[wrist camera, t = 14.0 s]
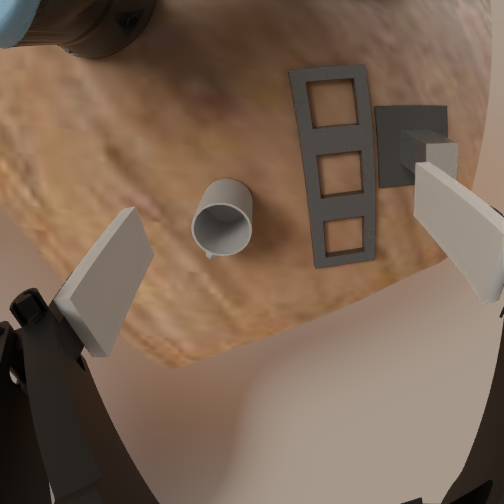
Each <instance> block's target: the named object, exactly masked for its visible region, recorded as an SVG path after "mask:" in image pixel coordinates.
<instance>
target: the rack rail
mask: <svg viewBox="0 0 504 504" xmlns="http://www.w3.org/2000/svg"><path fill="white" fill-rule="evenodd" d="M288 73H289V79H290V85H291V90H292V96H293V102H294V108H295V114H296V120H297V127H298V133H299V140H300V147H301V154H302V161H303V169H304V176H305V184H306V192H307V201H308V209H309V218H310V228H311V237H312V248H313V258H314V266H315V269H317V268H323V267H330V266H336V265H342V264H349V263H355V262H361V261H368V260H374V259H375V226H376V196H375V162H374V144H373V130H372V118H371V107H370V98H369V89H368V81H367V74H366V67H365V65H341V66H326V67H314V68H303V69H294V70H288ZM347 78H352V86H353V93H354V101H355V110H356V120H357V123H354V124H342V125H332V126H323V127H314V128H312V121H311V114H310V107H309V101H308V94H307V88H306V82H309V81H319V80H331V79H347ZM349 151H359V154H360V170H361V190H359V191H351V192H343V193H335V194H328V195H320V185H319V176H318V167H317V159H316V155H323V154H331V153H340V152H349ZM358 216H362V248H357V249H351V250H344V251H338V252H331V253H325V242H324V229H323V221H330V220H337V219H344V218H351V217H358Z"/></svg>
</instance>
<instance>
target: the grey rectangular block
mask: <svg viewBox="0 0 504 504" xmlns="http://www.w3.org/2000/svg"><path fill="white" fill-rule="evenodd" d="M399 131H400V162H401V164H402V165H403V166H405V167H406V168H407V169H409V170H410V171H411V172H413V173H414V174H415V163H420V162H430V163H431V164H433V165H434V166H436V167H437V168H439V169H440V170H442V171H443V172H445V173H446V174H448V175H449V176H451V177H452V178H453V179H455V180H457V165H458V143H457V142H455V141H453V140H451V139H449V138H447V137H445V136H443V135H441V134H438V133H436V132H434V131H432V130H430V129H416V130H399Z"/></svg>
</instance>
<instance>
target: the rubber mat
mask: <svg viewBox="0 0 504 504" xmlns="http://www.w3.org/2000/svg"><path fill="white" fill-rule="evenodd" d="M374 108H375V119H376V132H377V148H378V171H379V187H380V188H383V187H392V186H401V185H410V184H415V174H414V173H413V172H411V171H410V170H409V169H407V168H406V167H405V166H403V165H402V164H401V162H400V131H399V130H416V129H430V130H432V131H434V132H436V133H438V134H441V135H443V136H445V137H447V138H448V123H447V106H377V107H374Z"/></svg>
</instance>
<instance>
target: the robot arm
mask: <svg viewBox="0 0 504 504" xmlns="http://www.w3.org/2000/svg"><path fill="white" fill-rule="evenodd" d="M154 5H155V0H0V48H3V49H7V48H11V47H19V46H34V45H58V46H60V47H61V48H62V49H64V50H65V51H66V52H68V53H69V54H71V55H74V56H77V57H82V58H99V57H105V56H108V55H111V54H114V53H116V52H118V51H120V50H122V49H123V48H125V47H126V46H128V45H129V44H130V43H131V42H133V41H134V40H135V39H136V38H137V37H138V36H139V34H140V33H141V32H142V31H143V29H144V28H145V26H146V25H147V23H148V21H149V19H150V17H151V15H152V12H153V9H154ZM414 217H415V218H416V219H417V220H418V222H419V223H420V224H421V225H422V226H423V227H424V228H425V229H426V231H427V232H428V233H429V234H430V235H431V237H432V238H433V239H434V240H435V241H436V242H437V244H438V245H439V246H440V247H441V249H442V250H443V251H444V252H445V253H446V255H447V256H448V257H449V258H450V260H451V261H452V262H453V264H454V265H455V266H456V267H457V269H458V270H459V271H460V273H461V274H462V275H463V276H464V278H465V279H466V280H467V282H468V283H469V285H470V286H471V287H472V289H473V290H474V292H475V293H476V294H477V296H478V297H479V299H480V300H481V302H482V303H483V304H488V303H491V302H494V301H497V300H499V298H500V295H501V292H502V290H503V287H504V216H503V215H502V214H501V213H500V212H499V211H498V210H496V209H495V208H493V207H491V206H489V205H488V204H487V203H485V202H484V201H483V200H482V199H480V198H479V197H478V196H476V195H475V194H474V193H473V192H471V191H470V190H469V189H467V188H466V187H464V186H463V185H462V184H460V183H459V182H458V181H456V180H455V179H453V178H452V177H451V176H449V175H448V174H446V173H445V172H443V171H442V170H440V169H439V168H437V167H436V166H434V165H433V164H431V163H430V162H420V163H415V199H414ZM153 256H154V253H153V250H152V248H151V245H150V243H149V240H148V238H147V235H146V232H145V230H144V227H143V224H142V222H141V219H140V216H139V213H138V211H137V208H136V206H134V207H130V208H126V209H122V210H121V211H120V213H119V214H118V215H117V216H116V217H115V219H114V220H113V221H112V222H111V223H110V225H109V226H108V227H107V228H106V230H105V231H104V232H103V233H102V235H101V236H100V237H99V238H98V240H97V241H96V242H95V243H94V245H93V246H92V247H91V249H90V250H89V251H88V252H87V254H86V255H85V256H84V258H83V259H82V260H81V262H80V263H79V264H78V266H77V267H76V269H75V270H74V271H73V272H72V273H71V274H70V276H69V277H68V278H67V280H66V282H65V283H64V284H63V286H62V288H61V289H60V290H59V291H58V293H57V294H56V296H55V297H54V299H53V300H52V301H51V303H50V305H49V306H47V304H46V303H45V301H44V300H43V298H42V296H41V295H40V293H39V292H38V290H37V289H36V288H31V289H28V290H26V291H24V292H22V293H21V294H20V295H19V296H17V297H16V298H15V299H14V301H13V302H12V303H11V305H10V311H11V312H12V314H13V315H14V317H15V318H16V320H17V321H18V322H19V324H20V325H21V327H22V328H20V329H17V330H14V329H13V328H12V327H11V325H10V324H9V322H8V321H3V322H1V323H0V504H52V502H51V495H50V487H49V482H50V485H51V488H52V491H53V494H54V498H55V503H54V504H159V502H158V501H157V499H156V498H155V496H154V495H153V494H152V492H151V490H150V489H149V487H148V486H147V484H146V482H145V481H144V479H143V478H142V476H141V474H140V473H139V471H138V469H137V468H136V466H135V464H134V462H133V461H132V459H131V457H130V455H129V454H128V452H127V450H126V448H125V446H124V444H123V442H122V441H121V439H120V437H119V435H118V433H117V431H116V429H115V427H114V425H113V423H112V421H111V419H110V417H109V415H108V412H107V410H106V408H105V406H104V404H103V401H102V399H101V397H100V395H99V392H98V390H97V388H96V385H95V383H94V380H93V378H92V375H91V373H90V370H89V368H88V365H87V363H86V360H85V359H84V357H83V356H82V355H81V352H82V350H83V348H84V346H85V348H86V349H87V350H88V352H89V353H90V354H91V356H92V357H109V355H110V352H111V350H112V347H113V345H114V343H115V340H116V338H117V335H118V333H119V331H120V328H121V326H122V324H123V321H124V319H125V317H126V314H127V312H128V310H129V308H130V305H131V303H132V301H133V299H134V297H135V294H136V292H137V290H138V288H139V286H140V283H141V281H142V279H143V277H144V275H145V273H146V271H147V269H148V267H149V265H150V262H151V260H152V258H153ZM503 314H504V307H503V309H502V312H501V314H500V318H502V316H503ZM10 372H11V373H12V374H13V375H14V376H15V377H16V378H17V383H16V384H15V383H14V382H13V381H12V380H11V377H10ZM401 504H423V503H422V498H418V499H415V500H412V501H408V502H405V503H401ZM441 504H504V322H503V329H502V336H501V342H500V348H499V353H498V358H497V364H496V368H495V373H494V377H493V381H492V385H491V389H490V394H489V397H488V400H487V404H486V407H485V411H484V414H483V417H482V420H481V423H480V426H479V429H478V432H477V435H476V438H475V440H474V443H473V446H472V449H471V451H470V454H469V456H468V458H467V461H466V463H465V466H464V468H463V470H462V472H461V474H460V475H459V477H458V478H457V479H456V481H455V482H454V483H453V485H452V486H451V487H450V489H449V490H448V492H447V494H446V496H445V497H444V499H443V501H442V503H441Z"/></svg>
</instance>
